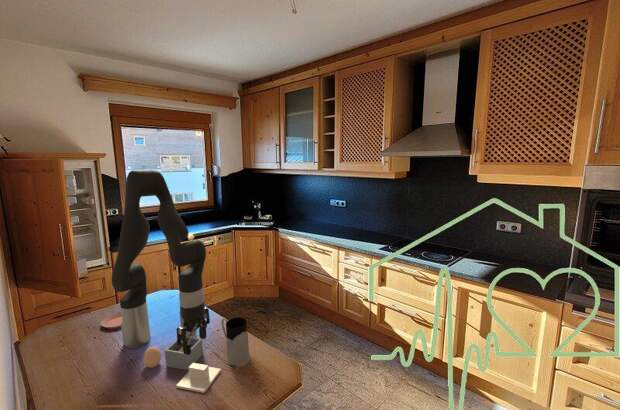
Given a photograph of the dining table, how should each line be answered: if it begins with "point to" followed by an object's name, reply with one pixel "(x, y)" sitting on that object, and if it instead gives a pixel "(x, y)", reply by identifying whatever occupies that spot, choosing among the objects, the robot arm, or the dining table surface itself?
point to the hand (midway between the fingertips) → (195, 345)
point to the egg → (152, 357)
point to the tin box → (181, 359)
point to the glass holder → (236, 341)
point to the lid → (198, 378)
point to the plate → (112, 321)
